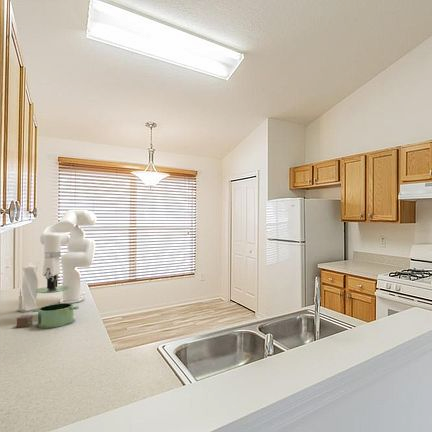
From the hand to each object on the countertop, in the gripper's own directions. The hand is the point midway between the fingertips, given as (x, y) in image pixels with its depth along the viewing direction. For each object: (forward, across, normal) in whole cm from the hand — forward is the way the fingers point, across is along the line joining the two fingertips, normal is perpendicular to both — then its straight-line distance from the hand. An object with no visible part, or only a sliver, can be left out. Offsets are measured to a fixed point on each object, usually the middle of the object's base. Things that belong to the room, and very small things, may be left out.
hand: (52, 287), depth 180 cm
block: (+16, +17, -6) cm, 24 cm away
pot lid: (+1, 0, 0) cm, 1 cm away
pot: (+16, +17, +8) cm, 24 cm away
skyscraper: (+16, -14, -17) cm, 27 cm away
